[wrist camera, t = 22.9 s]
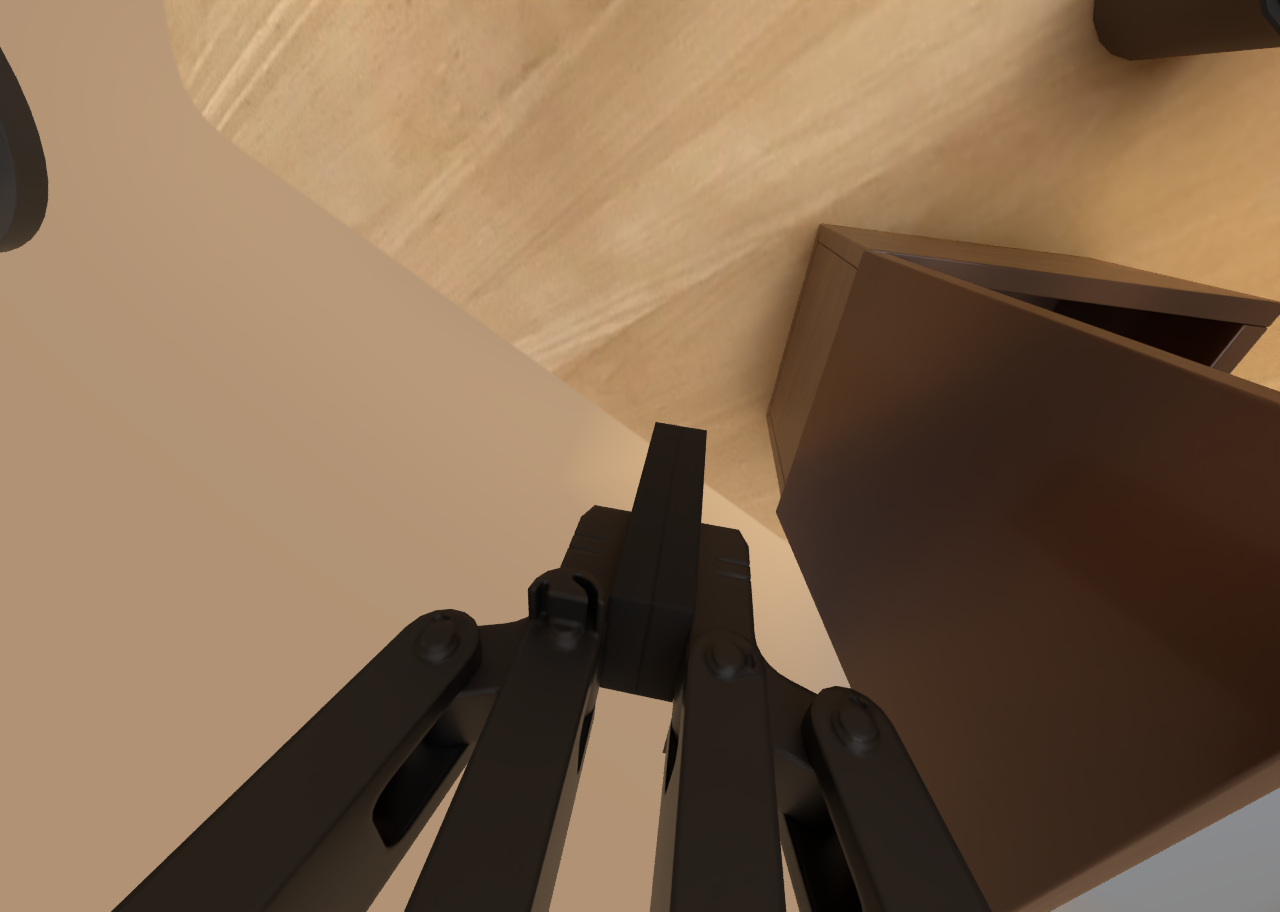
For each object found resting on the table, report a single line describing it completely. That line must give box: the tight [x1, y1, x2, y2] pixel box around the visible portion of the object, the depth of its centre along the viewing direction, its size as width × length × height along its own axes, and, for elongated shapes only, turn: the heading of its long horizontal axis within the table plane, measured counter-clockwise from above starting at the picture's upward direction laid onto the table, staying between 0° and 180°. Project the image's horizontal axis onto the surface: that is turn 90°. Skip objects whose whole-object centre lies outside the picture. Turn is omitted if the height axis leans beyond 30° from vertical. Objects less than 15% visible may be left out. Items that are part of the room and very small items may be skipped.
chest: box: [766, 224, 1280, 495], centre depth 23 cm, size 14×12×10 cm
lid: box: [776, 250, 1280, 912], centre depth 13 cm, size 14×12×1 cm
